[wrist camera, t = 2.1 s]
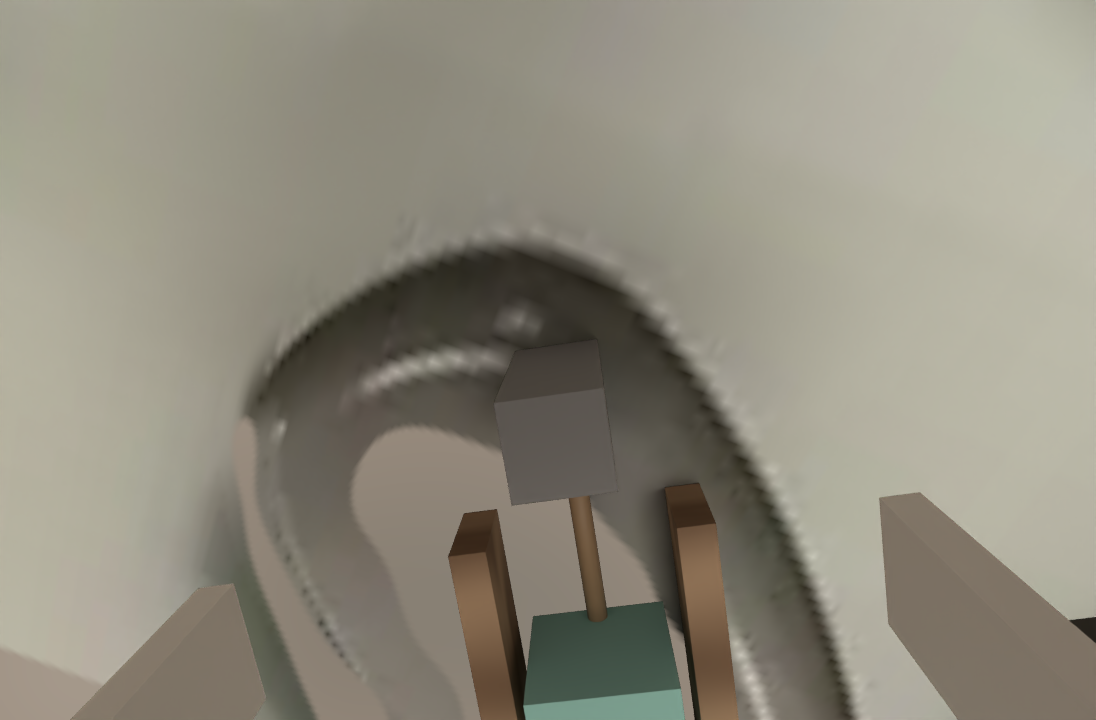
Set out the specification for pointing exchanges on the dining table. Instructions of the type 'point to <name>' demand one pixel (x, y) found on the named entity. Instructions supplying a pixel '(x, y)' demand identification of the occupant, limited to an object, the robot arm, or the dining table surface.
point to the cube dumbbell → (580, 546)
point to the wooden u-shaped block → (496, 623)
